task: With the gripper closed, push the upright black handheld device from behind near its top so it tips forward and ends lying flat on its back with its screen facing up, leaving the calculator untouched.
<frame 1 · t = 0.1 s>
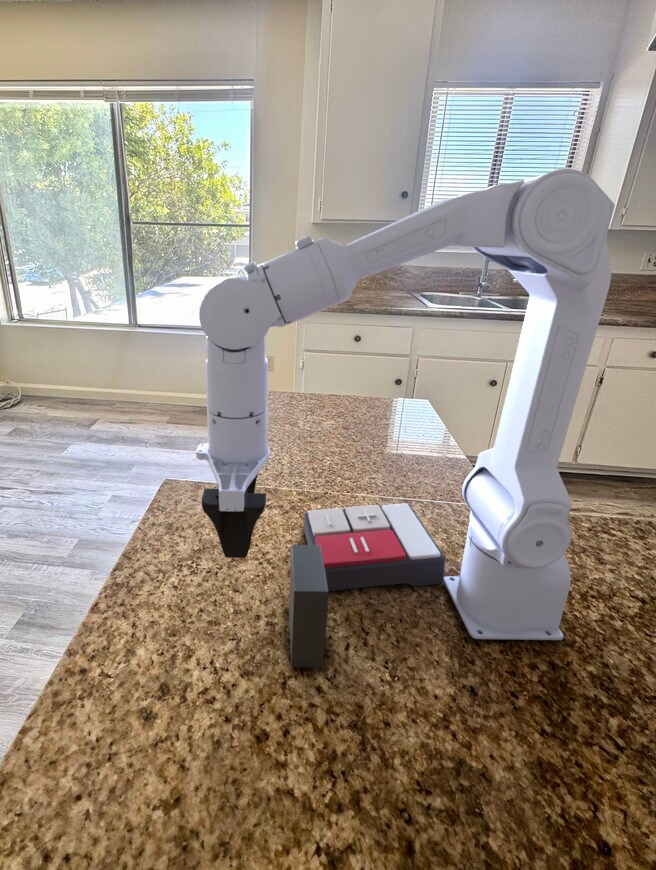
hand: (239, 528, 43), 10 cm above the countertop, tool pointing down, fingers open, 7 cm apart
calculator: (367, 556, 54), on the countertop
device: (304, 638, 43), on the countertop
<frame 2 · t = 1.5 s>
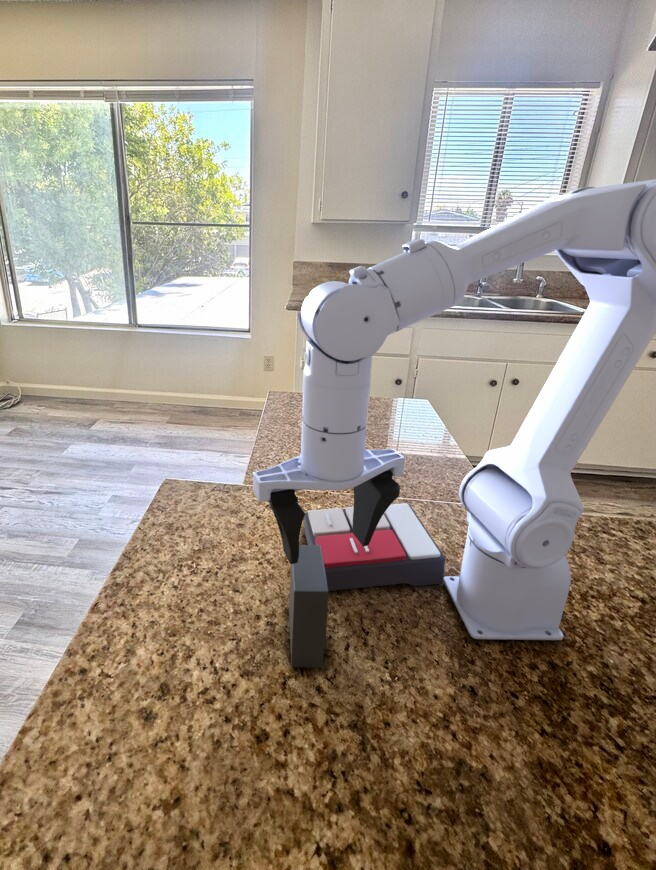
hand: (326, 547, 41), 10 cm above the countertop, tool pointing down, fingers open, 7 cm apart
nothing on the countertop moved.
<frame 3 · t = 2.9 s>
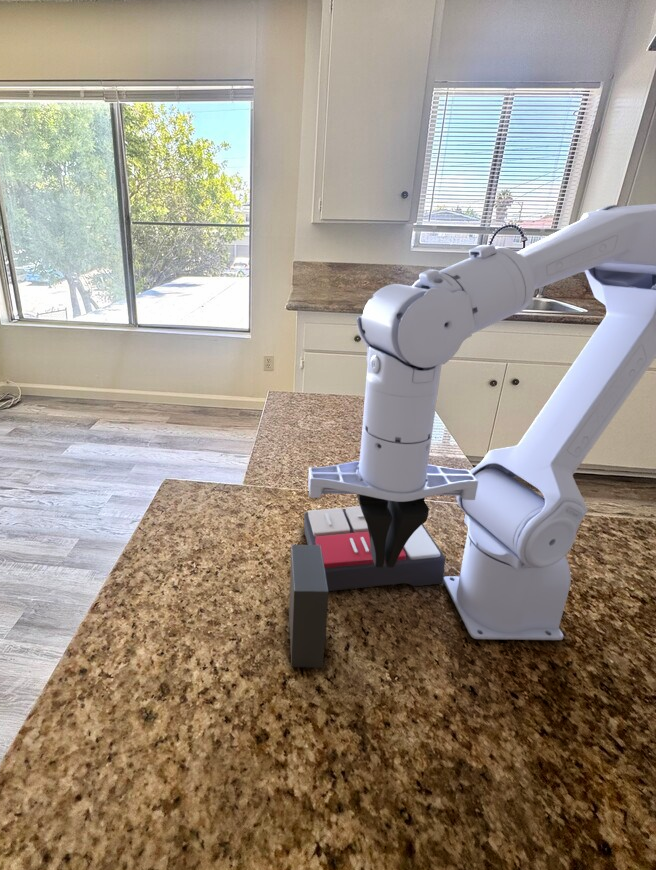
hand: (382, 559, 40), 10 cm above the countertop, tool pointing down, fingers closed
nothing on the countertop moved.
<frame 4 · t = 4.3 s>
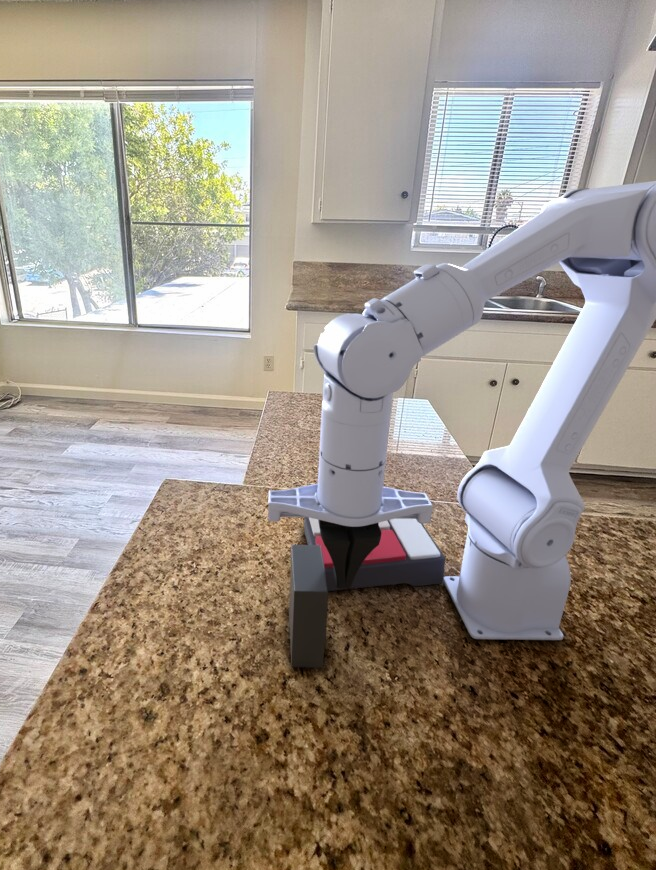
hand: (342, 580, 40), 7 cm above the countertop, tool pointing down, fingers closed
nothing on the countertop moved.
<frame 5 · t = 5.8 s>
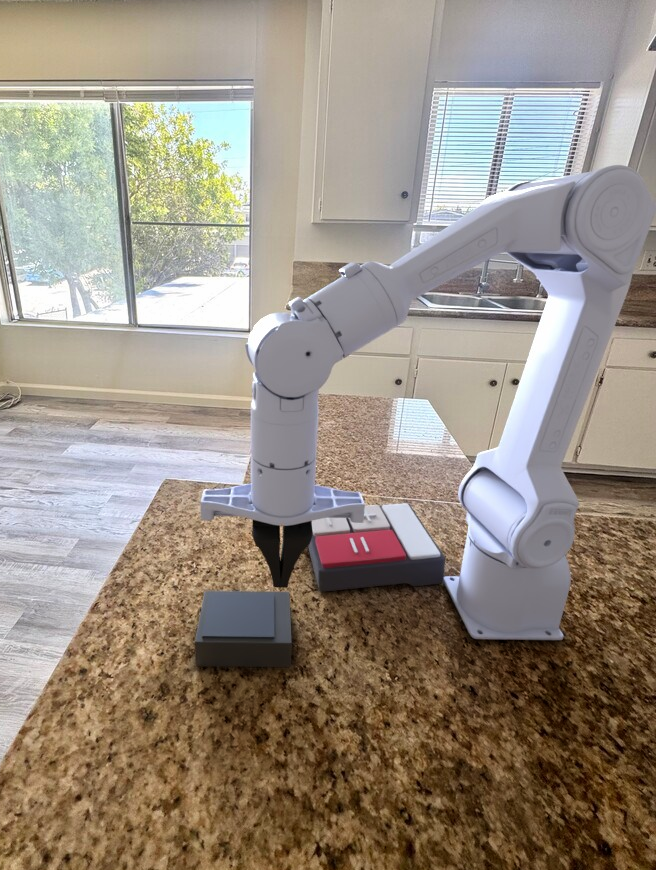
hand: (280, 579, 40), 7 cm above the countertop, tool pointing down, fingers closed
device: (289, 627, 42), point 2 cm above the countertop, tilted 90°
everything else where it was.
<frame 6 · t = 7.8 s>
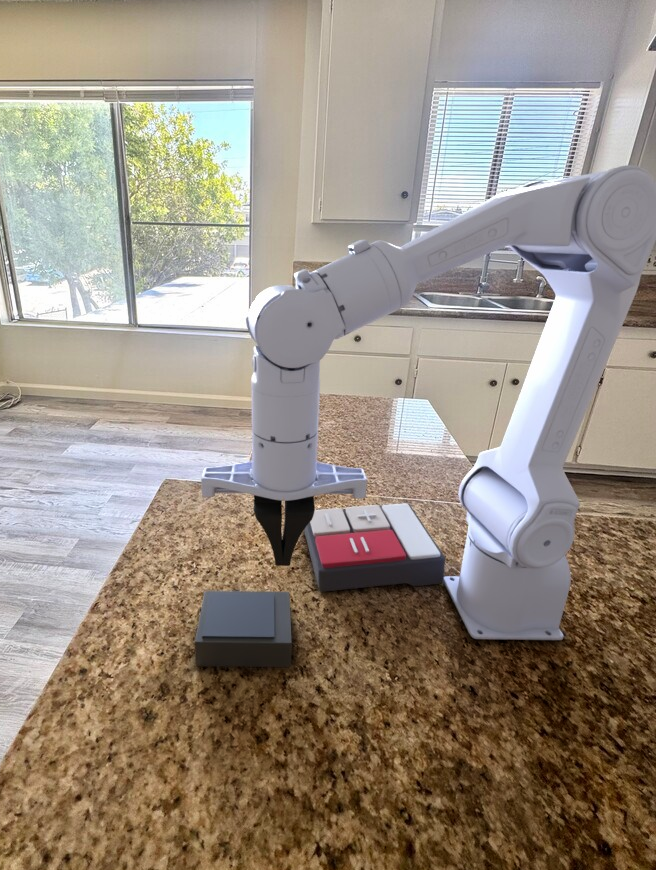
hand: (282, 558, 40), 10 cm above the countertop, tool pointing down, fingers closed
nothing on the countertop moved.
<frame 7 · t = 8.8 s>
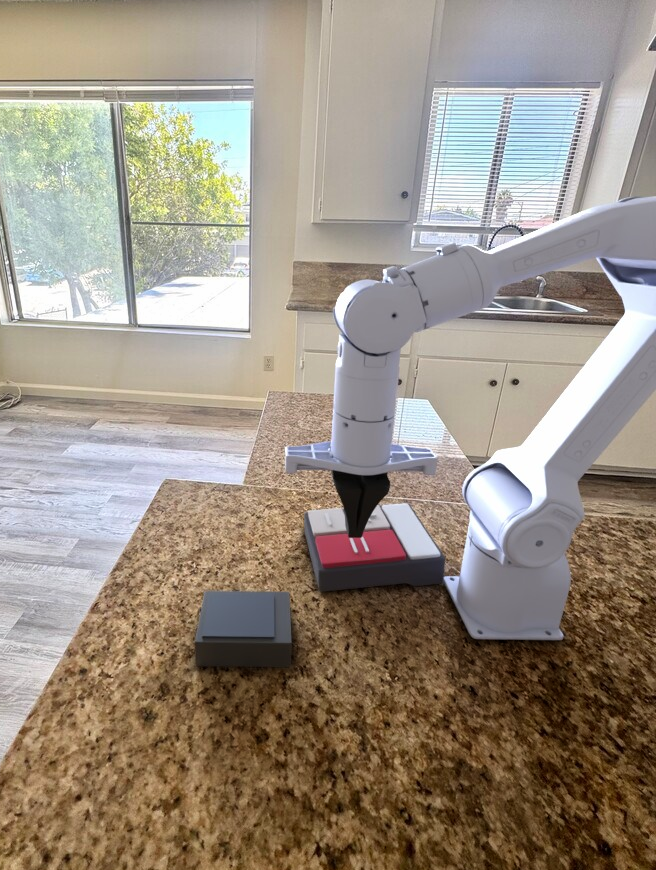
hand: (353, 531, 43), 10 cm above the countertop, tool pointing down, fingers closed
nothing on the countertop moved.
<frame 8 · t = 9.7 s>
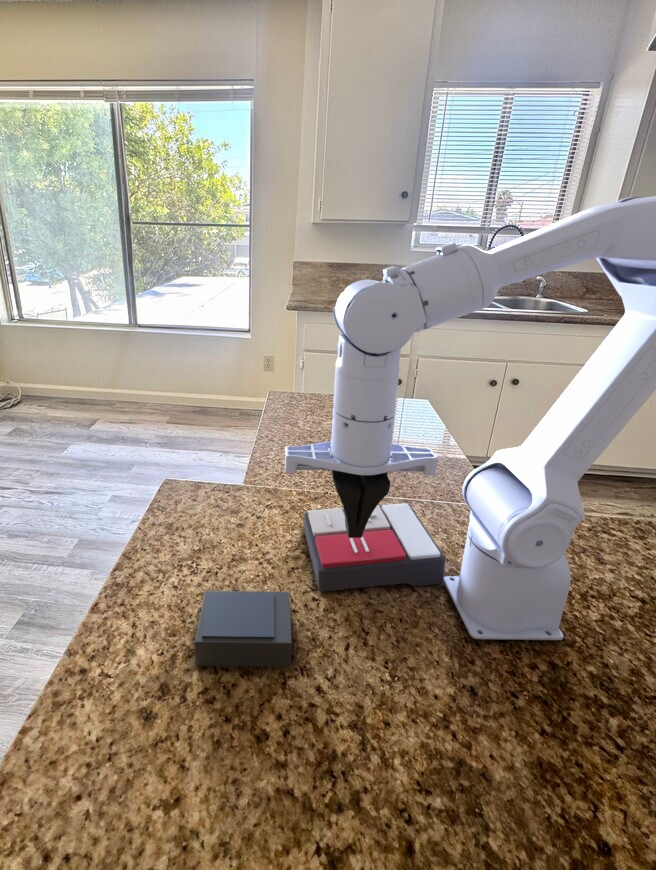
hand: (353, 531, 43), 10 cm above the countertop, tool pointing down, fingers closed
nothing on the countertop moved.
at the end: device tilted 90°; device inside the target area (3.4 cm from its centre), point 1.5 cm above the countertop; the gripper is holding nothing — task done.
